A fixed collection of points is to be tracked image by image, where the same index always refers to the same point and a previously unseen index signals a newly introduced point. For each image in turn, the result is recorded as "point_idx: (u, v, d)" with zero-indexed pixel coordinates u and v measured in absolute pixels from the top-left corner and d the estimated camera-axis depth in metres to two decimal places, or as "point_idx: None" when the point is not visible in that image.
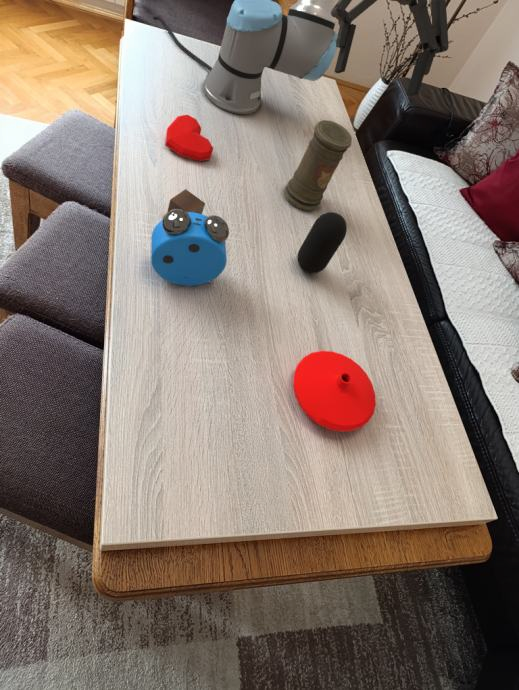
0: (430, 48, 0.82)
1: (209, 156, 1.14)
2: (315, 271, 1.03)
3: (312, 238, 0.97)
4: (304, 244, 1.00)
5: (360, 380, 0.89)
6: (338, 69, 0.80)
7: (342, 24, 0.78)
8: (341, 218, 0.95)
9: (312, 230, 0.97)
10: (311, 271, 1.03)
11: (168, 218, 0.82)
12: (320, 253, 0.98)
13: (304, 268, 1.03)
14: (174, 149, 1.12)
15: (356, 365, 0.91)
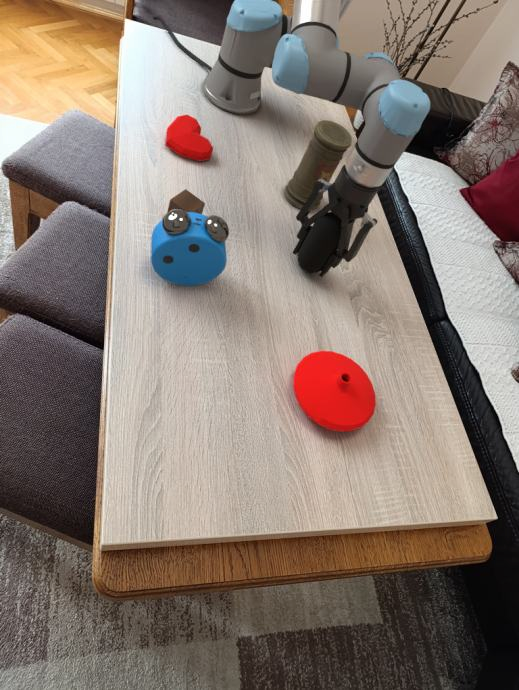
0: (337, 252, 0.98)
1: (209, 156, 1.14)
2: (315, 271, 1.03)
3: (312, 238, 0.97)
4: (304, 244, 1.00)
5: (360, 380, 0.89)
6: None
7: None
8: None
9: (312, 230, 0.97)
10: (311, 271, 1.03)
11: (168, 218, 0.82)
12: (320, 253, 0.98)
13: (304, 268, 1.03)
14: (174, 149, 1.12)
15: (356, 365, 0.91)
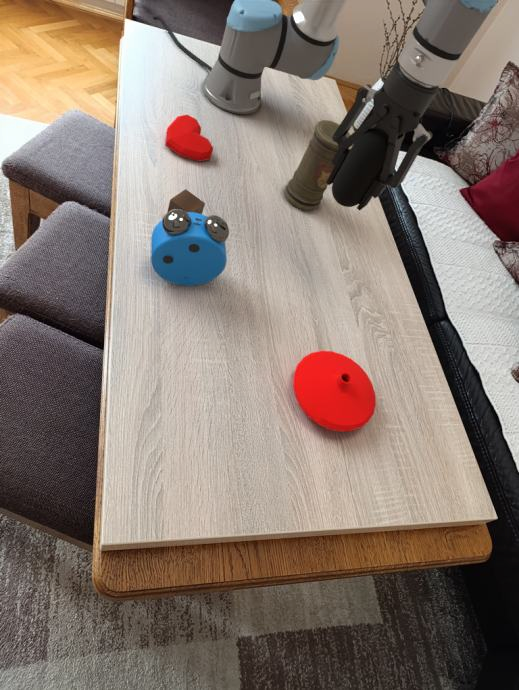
0: None
1: (209, 156, 1.14)
2: (353, 203, 0.89)
3: (352, 160, 0.83)
4: (341, 170, 0.86)
5: (360, 380, 0.89)
6: None
7: None
8: (387, 135, 0.81)
9: (352, 151, 0.83)
10: (348, 203, 0.89)
11: (168, 218, 0.82)
12: (360, 178, 0.84)
13: (340, 199, 0.89)
14: (174, 149, 1.12)
15: (356, 365, 0.91)
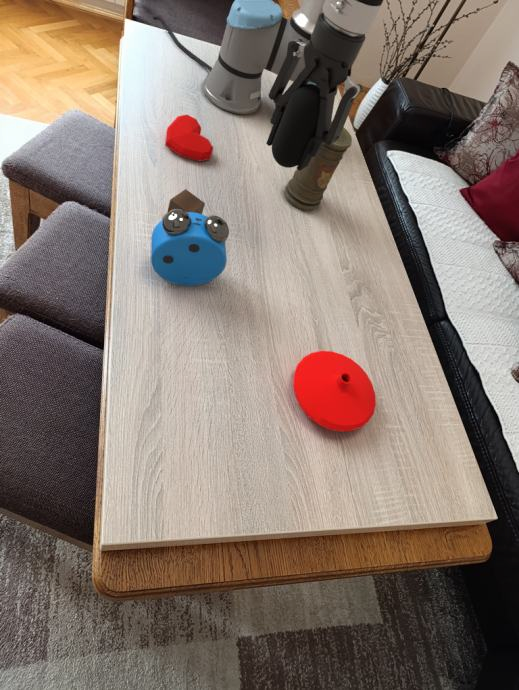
0: None
1: (209, 156, 1.14)
2: (292, 162, 0.89)
3: (287, 117, 0.83)
4: (278, 128, 0.86)
5: (360, 380, 0.89)
6: None
7: None
8: None
9: (287, 107, 0.83)
10: (287, 162, 0.89)
11: (168, 218, 0.82)
12: (296, 136, 0.84)
13: (279, 159, 0.89)
14: (174, 149, 1.12)
15: (356, 365, 0.91)
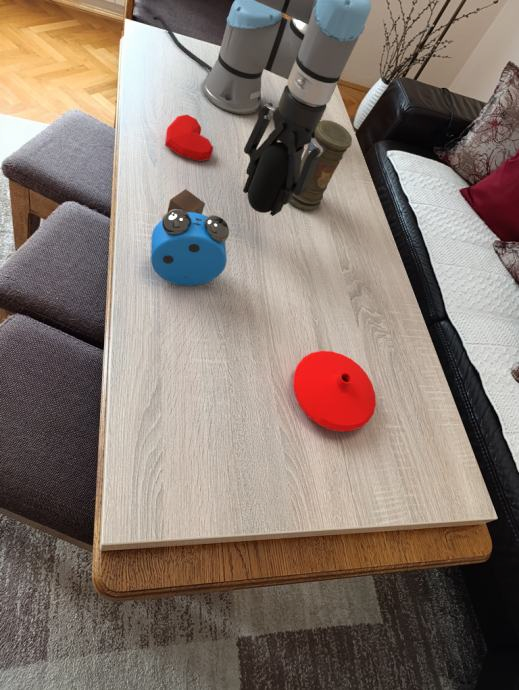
0: None
1: (209, 156, 1.14)
2: (266, 209, 0.98)
3: (259, 170, 0.92)
4: (253, 179, 0.95)
5: (360, 380, 0.89)
6: None
7: None
8: None
9: (259, 162, 0.92)
10: (261, 209, 0.98)
11: (168, 218, 0.82)
12: (268, 187, 0.93)
13: (254, 206, 0.98)
14: (174, 149, 1.12)
15: (356, 365, 0.91)
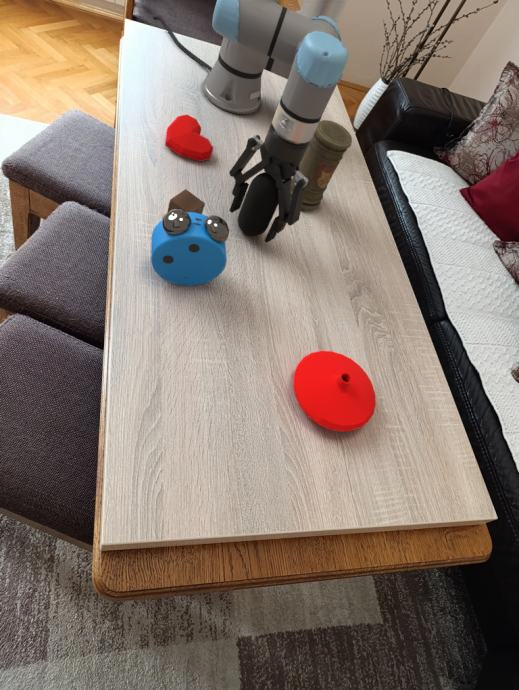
0: (279, 217, 0.98)
1: (209, 156, 1.14)
2: (255, 234, 1.03)
3: (248, 199, 0.98)
4: (242, 206, 1.01)
5: (360, 380, 0.89)
6: None
7: None
8: None
9: (248, 191, 0.97)
10: (251, 234, 1.03)
11: (168, 218, 0.82)
12: (256, 214, 0.99)
13: (244, 231, 1.03)
14: (174, 149, 1.12)
15: (356, 365, 0.91)
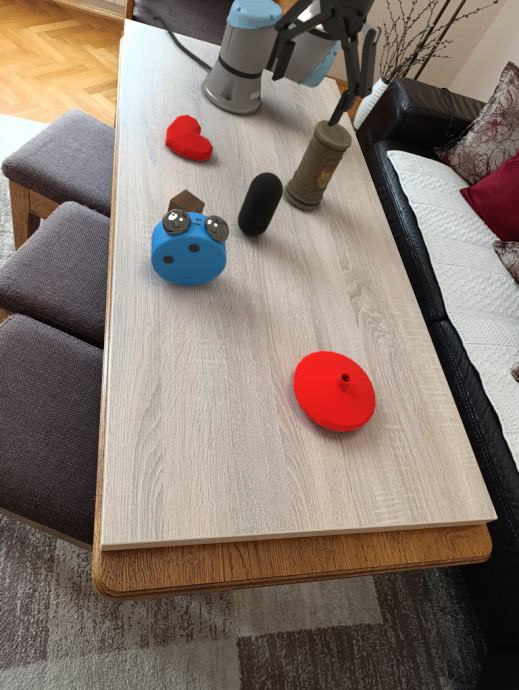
0: (349, 90, 0.83)
1: (209, 156, 1.14)
2: (255, 234, 1.03)
3: (248, 199, 0.98)
4: (242, 206, 1.01)
5: (360, 380, 0.89)
6: None
7: None
8: (276, 178, 0.95)
9: (248, 191, 0.97)
10: (251, 234, 1.03)
11: (168, 218, 0.82)
12: (257, 214, 0.99)
13: (244, 231, 1.03)
14: (174, 149, 1.12)
15: (356, 365, 0.91)
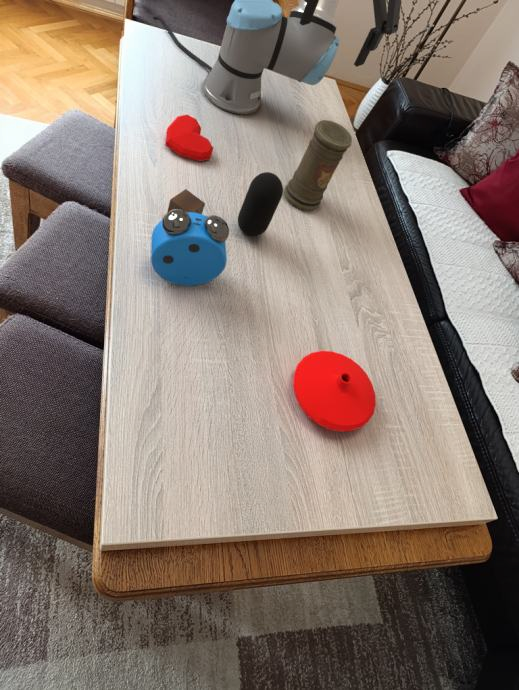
0: (376, 27, 0.88)
1: (209, 156, 1.14)
2: (255, 234, 1.03)
3: (248, 199, 0.98)
4: (242, 206, 1.01)
5: (360, 380, 0.89)
6: None
7: None
8: (276, 178, 0.95)
9: (248, 191, 0.97)
10: (251, 234, 1.03)
11: (168, 218, 0.82)
12: (257, 214, 0.99)
13: (244, 231, 1.03)
14: (174, 149, 1.12)
15: (356, 365, 0.91)
